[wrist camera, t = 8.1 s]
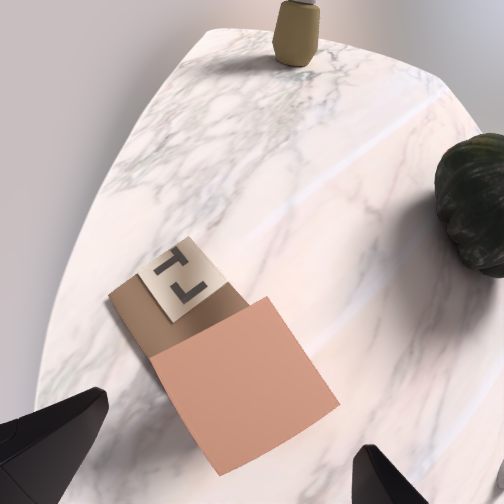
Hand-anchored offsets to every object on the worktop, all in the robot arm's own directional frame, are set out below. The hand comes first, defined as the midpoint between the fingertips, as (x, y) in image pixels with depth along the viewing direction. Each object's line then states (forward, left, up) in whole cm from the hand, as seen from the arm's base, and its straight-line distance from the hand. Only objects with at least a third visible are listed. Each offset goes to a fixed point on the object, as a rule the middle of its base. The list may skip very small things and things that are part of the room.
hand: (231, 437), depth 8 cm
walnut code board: (+2, +6, -10) cm, 12 cm away
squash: (+30, -5, -11) cm, 32 cm away
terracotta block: (+1, +1, -9) cm, 10 cm away
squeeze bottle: (+41, +34, -11) cm, 54 cm away
